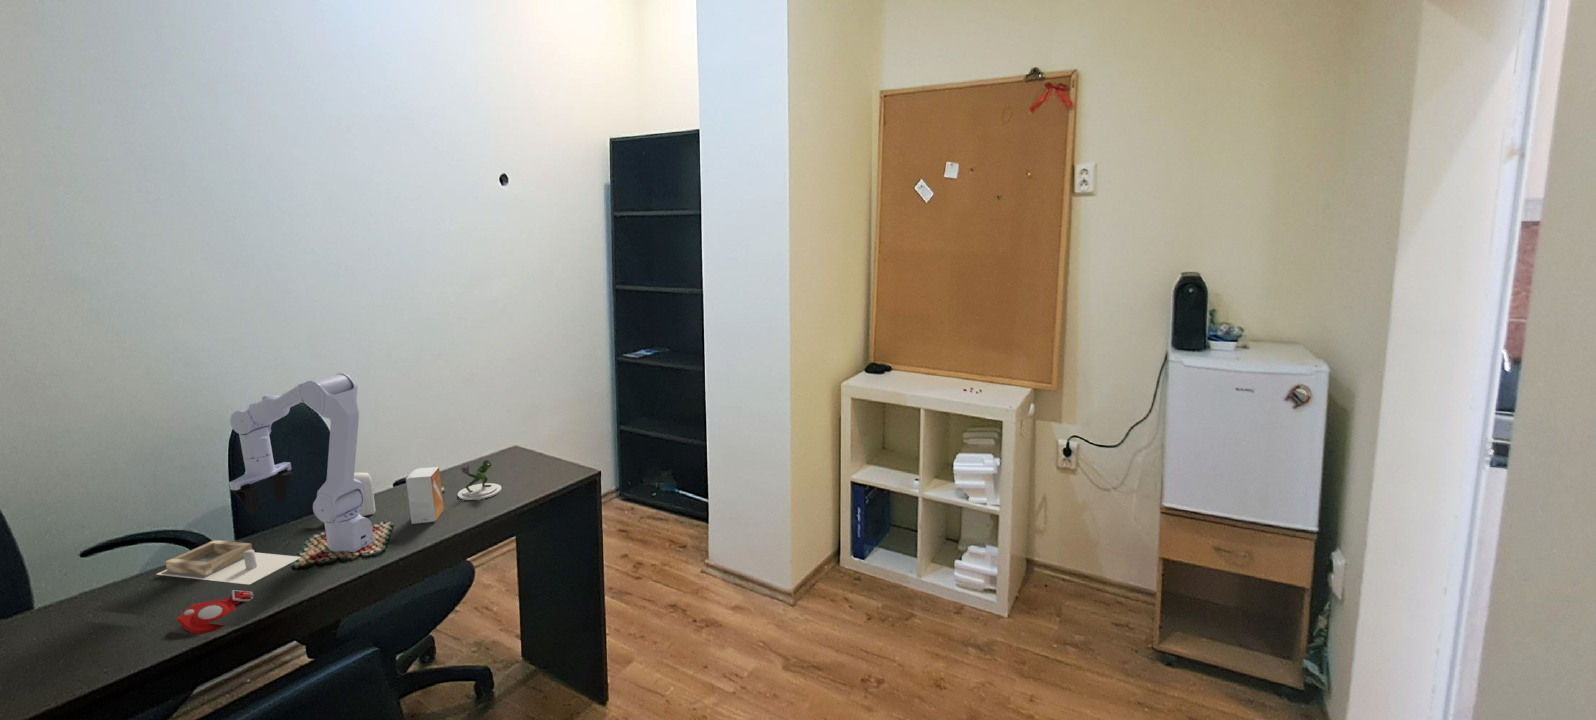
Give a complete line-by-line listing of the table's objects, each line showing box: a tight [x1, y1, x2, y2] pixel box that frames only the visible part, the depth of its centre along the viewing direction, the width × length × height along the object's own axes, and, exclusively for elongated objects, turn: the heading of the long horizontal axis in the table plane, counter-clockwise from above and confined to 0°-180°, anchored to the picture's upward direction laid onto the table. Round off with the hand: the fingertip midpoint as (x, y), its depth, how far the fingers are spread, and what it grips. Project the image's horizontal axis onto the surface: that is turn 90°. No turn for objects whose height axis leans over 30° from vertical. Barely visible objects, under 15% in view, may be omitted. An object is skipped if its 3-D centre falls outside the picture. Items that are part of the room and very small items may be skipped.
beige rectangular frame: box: [165, 539, 253, 576], centre depth 162 cm, size 11×11×2 cm
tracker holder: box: [175, 589, 255, 635], centre depth 141 cm, size 12×4×10 cm
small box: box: [405, 466, 445, 525], centre depth 188 cm, size 8×6×13 cm
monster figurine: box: [457, 459, 503, 501], centre depth 205 cm, size 12×12×10 cm
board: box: [155, 549, 302, 585], centre depth 160 cm, size 26×13×6 cm, turn 78°
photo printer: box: [354, 472, 376, 517], centre depth 190 cm, size 10×4×12 cm, turn 123°
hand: (266, 506), depth 173 cm, fingers open, 7 cm apart
